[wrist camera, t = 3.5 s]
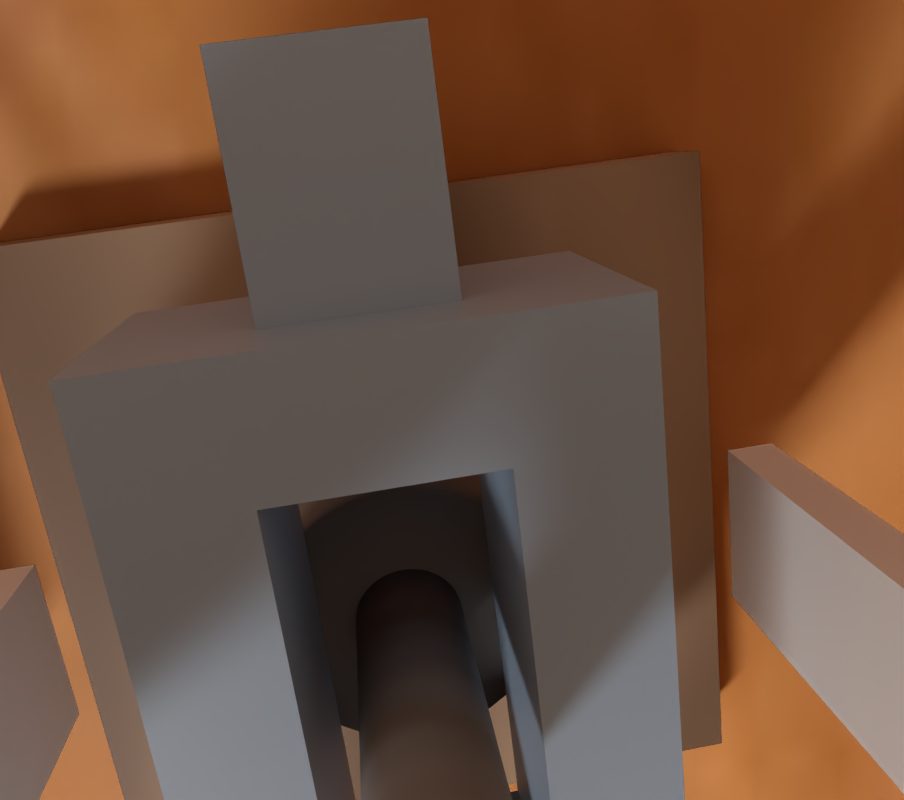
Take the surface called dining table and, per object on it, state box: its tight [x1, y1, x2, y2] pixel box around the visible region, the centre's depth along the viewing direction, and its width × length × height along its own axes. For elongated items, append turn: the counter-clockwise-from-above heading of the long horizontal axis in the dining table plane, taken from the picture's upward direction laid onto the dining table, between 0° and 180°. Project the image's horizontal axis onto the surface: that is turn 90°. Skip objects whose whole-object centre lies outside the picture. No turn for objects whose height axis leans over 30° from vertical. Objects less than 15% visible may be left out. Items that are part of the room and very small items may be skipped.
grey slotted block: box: [49, 17, 685, 800], centre depth 11 cm, size 13×6×3 cm, turn 7°
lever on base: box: [0, 151, 722, 800], centre depth 11 cm, size 12×12×12 cm
